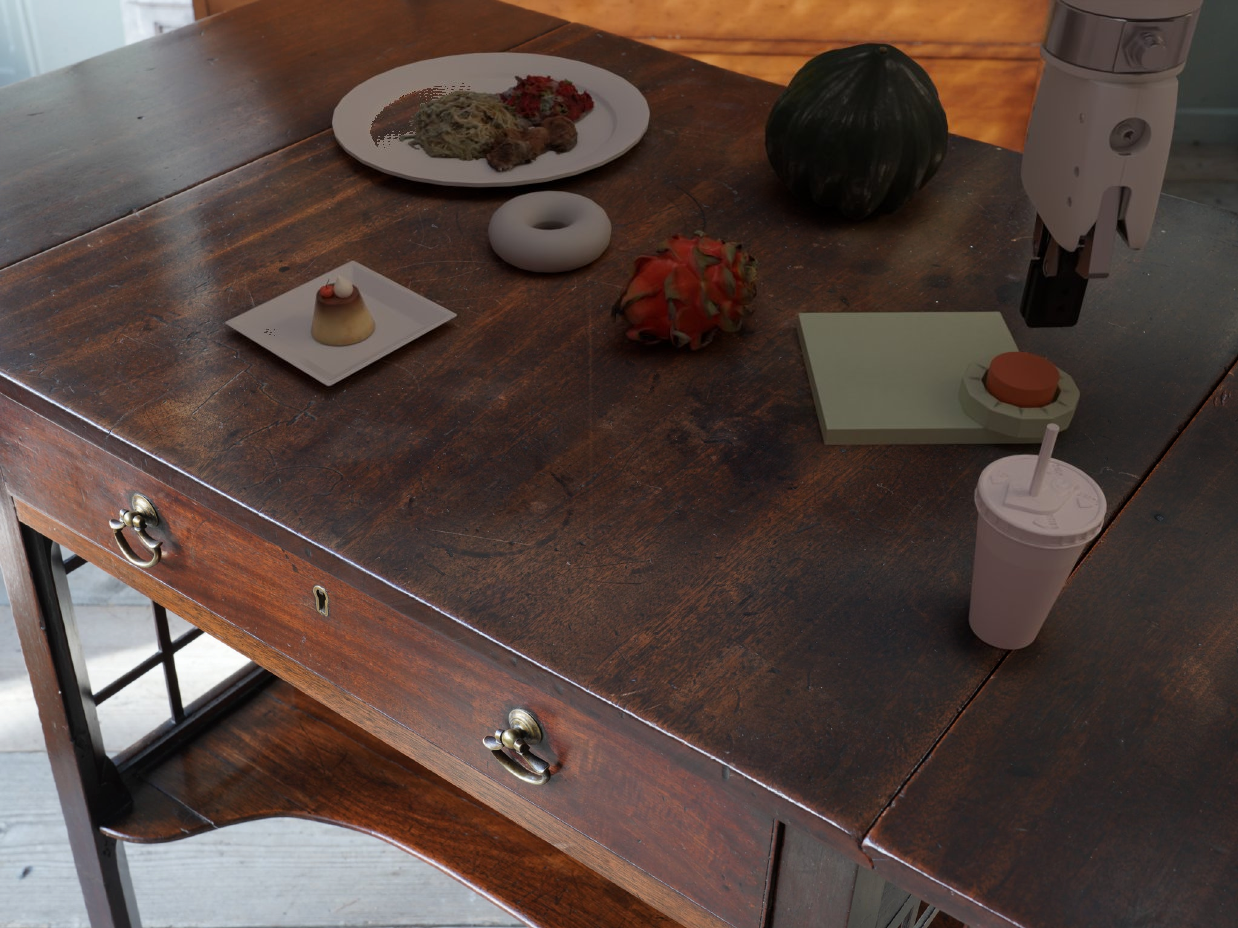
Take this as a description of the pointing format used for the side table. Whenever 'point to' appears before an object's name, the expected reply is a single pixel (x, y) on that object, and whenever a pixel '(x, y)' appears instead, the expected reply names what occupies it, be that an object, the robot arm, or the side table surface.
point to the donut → (549, 231)
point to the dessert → (340, 321)
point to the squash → (858, 130)
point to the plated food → (495, 120)
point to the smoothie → (1028, 541)
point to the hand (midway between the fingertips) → (1047, 320)
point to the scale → (918, 380)
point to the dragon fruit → (687, 291)
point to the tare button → (1022, 379)
